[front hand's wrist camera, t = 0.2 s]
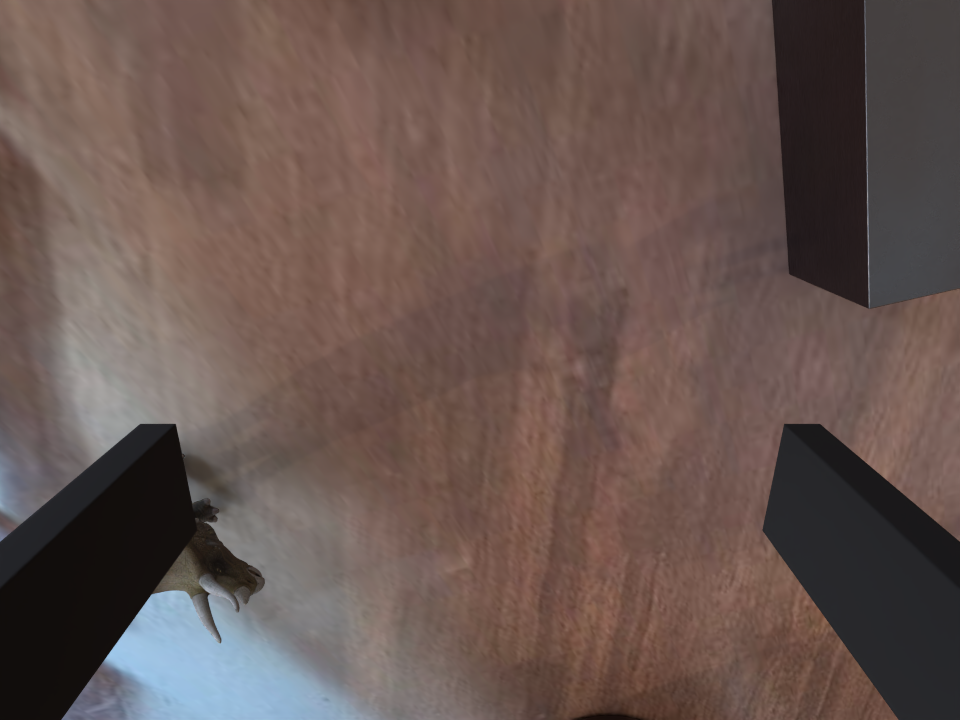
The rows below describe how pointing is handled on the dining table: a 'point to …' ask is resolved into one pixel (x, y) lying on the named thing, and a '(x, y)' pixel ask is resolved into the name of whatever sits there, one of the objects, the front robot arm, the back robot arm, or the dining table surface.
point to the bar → (871, 145)
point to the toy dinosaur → (210, 570)
